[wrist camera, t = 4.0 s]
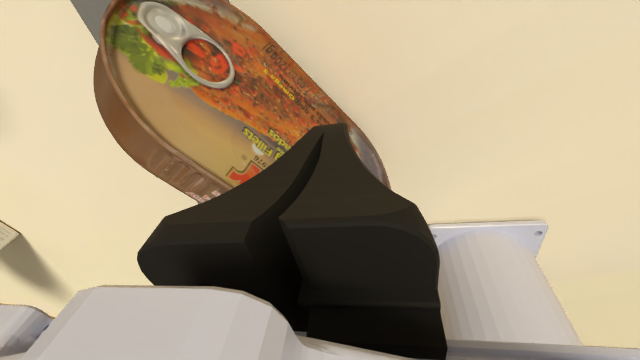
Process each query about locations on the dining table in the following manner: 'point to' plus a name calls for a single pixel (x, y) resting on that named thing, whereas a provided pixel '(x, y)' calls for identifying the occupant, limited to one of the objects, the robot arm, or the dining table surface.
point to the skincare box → (6, 235)
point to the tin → (206, 94)
